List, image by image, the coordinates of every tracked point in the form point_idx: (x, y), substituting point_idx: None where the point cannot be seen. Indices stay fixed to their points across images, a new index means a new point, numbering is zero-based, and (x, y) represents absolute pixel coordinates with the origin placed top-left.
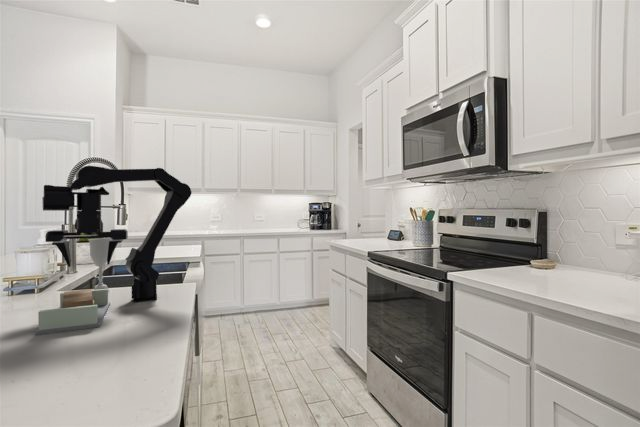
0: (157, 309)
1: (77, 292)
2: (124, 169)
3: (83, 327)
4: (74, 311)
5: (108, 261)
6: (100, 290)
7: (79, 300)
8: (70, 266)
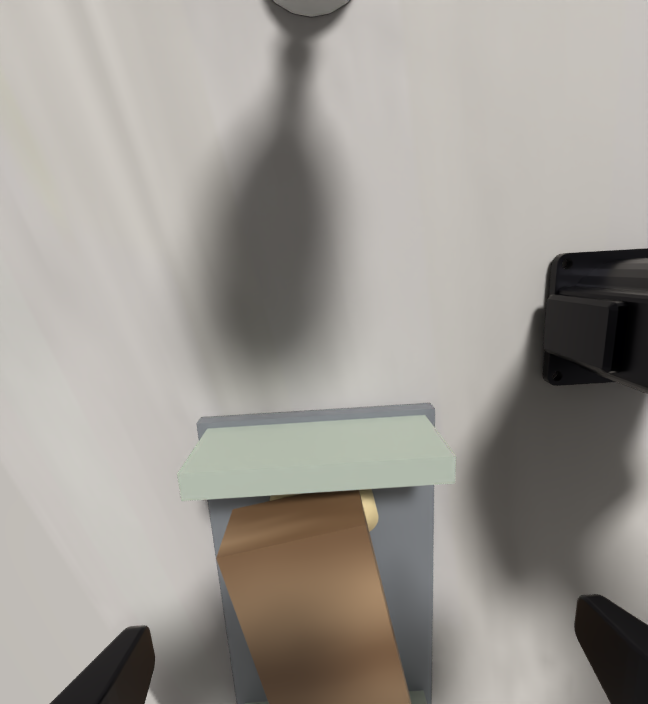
0: (637, 551)
1: (306, 602)
2: None
3: None
4: None
5: (622, 693)
6: (412, 485)
7: None
8: (151, 639)
